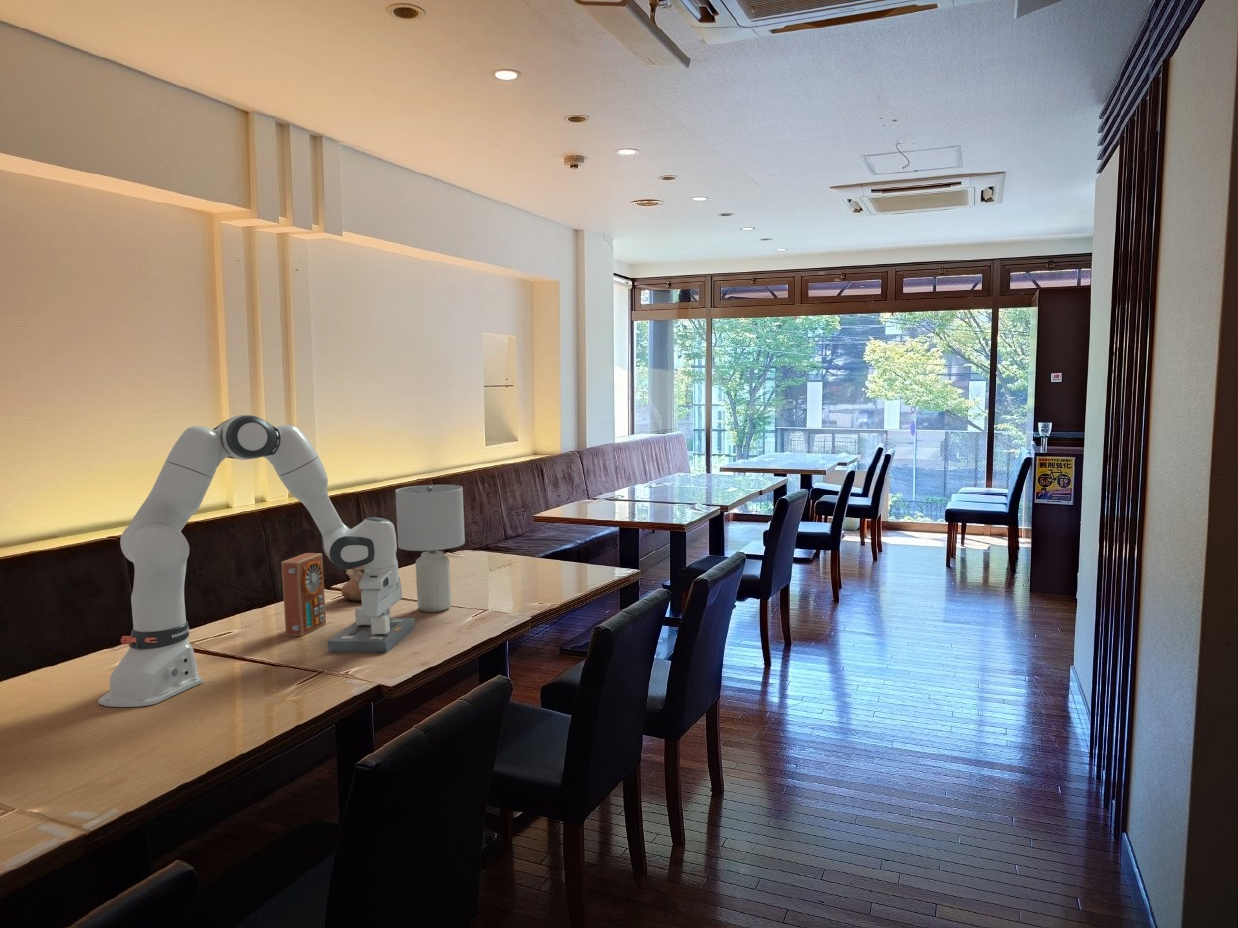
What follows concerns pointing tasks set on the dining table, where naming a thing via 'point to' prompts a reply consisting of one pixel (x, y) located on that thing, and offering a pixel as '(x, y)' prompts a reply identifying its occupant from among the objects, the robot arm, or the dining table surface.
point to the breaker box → (371, 637)
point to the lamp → (431, 537)
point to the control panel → (303, 594)
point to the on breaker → (361, 617)
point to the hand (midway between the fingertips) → (384, 624)
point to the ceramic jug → (353, 584)
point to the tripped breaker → (380, 624)
